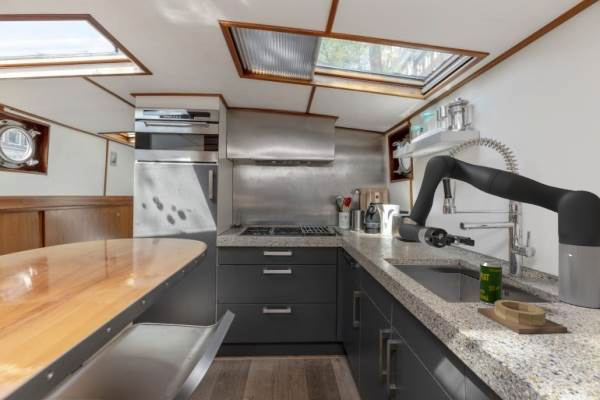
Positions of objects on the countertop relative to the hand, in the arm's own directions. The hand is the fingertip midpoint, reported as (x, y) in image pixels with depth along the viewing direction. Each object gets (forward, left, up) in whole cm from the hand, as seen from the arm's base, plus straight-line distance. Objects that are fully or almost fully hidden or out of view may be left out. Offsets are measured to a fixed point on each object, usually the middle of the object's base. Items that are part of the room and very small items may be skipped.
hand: (461, 242), depth 91 cm
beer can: (0, +12, -16) cm, 20 cm away
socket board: (+3, +24, -16) cm, 29 cm away
